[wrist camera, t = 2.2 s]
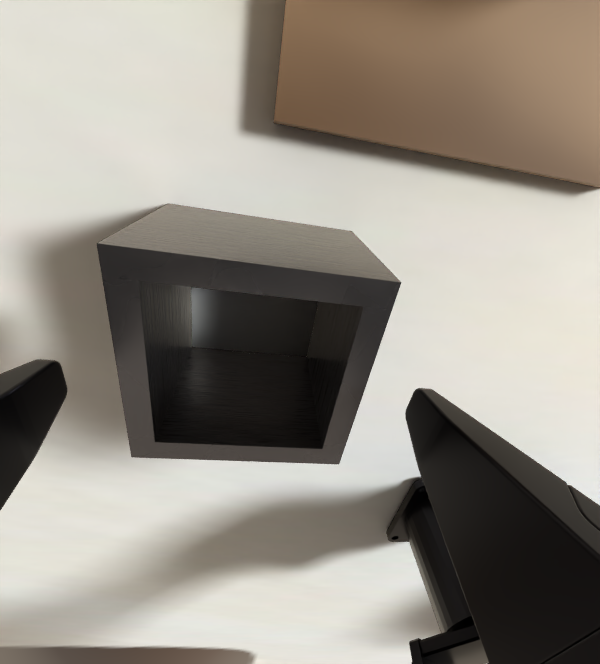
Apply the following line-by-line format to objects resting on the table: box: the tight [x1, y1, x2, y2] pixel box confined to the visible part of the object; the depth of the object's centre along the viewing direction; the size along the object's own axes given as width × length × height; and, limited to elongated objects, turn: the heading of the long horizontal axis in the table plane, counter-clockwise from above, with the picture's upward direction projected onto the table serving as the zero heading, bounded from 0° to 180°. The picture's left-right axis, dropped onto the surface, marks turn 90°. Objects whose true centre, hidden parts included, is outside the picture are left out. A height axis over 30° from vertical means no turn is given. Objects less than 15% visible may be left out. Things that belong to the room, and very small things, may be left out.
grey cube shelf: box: [97, 204, 401, 464], centre depth 10 cm, size 6×6×5 cm
